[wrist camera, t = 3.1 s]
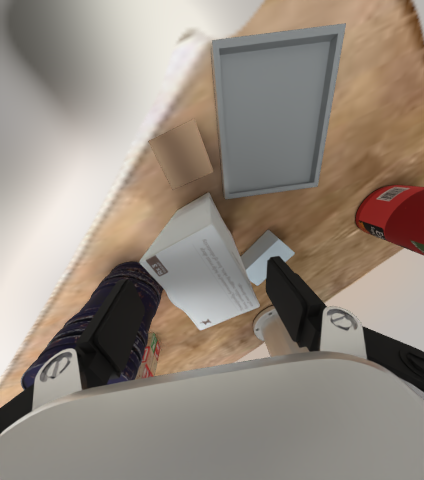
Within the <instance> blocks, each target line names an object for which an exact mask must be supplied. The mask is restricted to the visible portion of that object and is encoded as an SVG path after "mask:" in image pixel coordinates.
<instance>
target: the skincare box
mask: <svg viewBox="0 0 424 480" xmlns="http://www.w3.org/2000/svg"><path fill="white" fill-rule="evenodd" d="M139 263H140V264H141V265H142V266H143V267H144V268H145V269H146V270H147V271H148V273H149V274H150V275H151V276H152V277H153V278H154V279H155V280H156V281H157V282H158V283H159V284H160V285H161V286H162V287H163V289H164V290H165V291H166V293H167V295H168V297H169V299H170V300H171V302H172V303H173V304H174V305H175V306H176V307H178V308H180V309H182V310H183V311H184V312H185V313H186V314H187V315H188V316H189V318H190V319H191V320H192V321H193V322H194V324H195V325H196V326H197V328H198V329H199V330H203V329H206V328H208V327H211V326H213V325H216V324H218V323H221V322H223V321H225V320H228V319H230V318H232V317H235V316H237V315H240V314H243V313H246V312H248V311H251V310H253V309H256V308H258V307H259V306H260V304H259V302H258V300H257V298H256V295H255V293H254V291H253V288H252V286H251V283H250V281H249V278H248V275H247V273H246V270H245V268H244V265H243V263H242V260H241V258H240V255H239V252H238V250H237V248H236V245H235V242H234V240H233V237H232V235H231V233H230V231H229V230H228V228H227V226H226V225H225V223H224V221H223V219H222V217H221V216H220V214H219V212H218V210H217V208H216V206H215V204H214V202H213V200H212V197H211V195H210V193H209V192H208V193H206V194H204V195H203V196H201V197H199V198H197V199H196V200H194V201H192V202H191V203H189V204H187V205H185V206H184V207H182V208H180V209H179V210H177V211H176V213H175V214H174V215H173V217H172V218H171V219H170V221H169V222H168V223H167V225H166V226H165V227H164V229H163V230H162V231H161V233H160V234H159V235H158V237H157V238H156V239H155V241H154V242H153V244H152V245H151V246H150V248H149V249H148V250H147V252H146V253H145V254H144V255H143V257H142V258H141V259H140V262H139Z"/></svg>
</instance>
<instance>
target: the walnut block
mask: <svg viewBox="0 0 424 480" xmlns="http://www.w3.org/2000/svg"><path fill="white" fill-rule="evenodd" d="M148 142H149V144H150V146H151V148H152V150H153V152H154V154H155V156H156V158H157V160H158V162H159V164H160V166H161V168H162V170H163V172H164V174H165V176H166V178H167V180H168V182H169V184H170V186H171V188H172V190H174V189H176V188H179V187H181V186H183V185H185V184H188V183H190V182H192V181H194V180H197V179H199V178H201V177H203V176H206V175H208V174H210V173H212V172H214V171H213V168H212V166H211V163H210V160H209V157H208V154H207V152H206V149H205V146H204V143H203V141H202V138H201V135H200V132H199V129H198V127H197V124H196V121H195V119H193V120H191V121H188V122H186V123H184V124H182V125H180V126H178V127H176V128H174V129H172V130H170V131H168V132H166V133H164V134H162V135H160V136H158V137H156V138H154V139H151V140H149V141H148Z"/></svg>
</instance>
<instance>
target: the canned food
mask: <svg viewBox="0 0 424 480" xmlns="http://www.w3.org/2000/svg"><path fill="white" fill-rule="evenodd" d="M356 224H357V226H358V227H359V228H360V229H361V230H362V231H364V232H366V233H368V234H371V235H373V236H376V237H379V238H381V239H384V240H386V241H389V242H391V243H394V244H396V245H399V246H401V247H404V248H406V249H409V250H411V251H414V252H417V253H419V254H422V255H424V187H416V186H404V185H392V186H386V187H383V188H380V189H378V190H376V191H375V192H373V193H372V194H370V195H369V196H368V197H367V198H366V199H365V200H364V201H363V203H362V204H361V205H360V207H359V209H358V211H357V214H356Z"/></svg>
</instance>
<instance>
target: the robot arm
mask: <svg viewBox="0 0 424 480" xmlns="http://www.w3.org/2000/svg"><path fill="white" fill-rule="evenodd" d="M266 292H267V294H268V296H269V298H270V300H271V302H272V304H273V306H271V307H269V308H267V309H265V310H263V311H262V312H261V313H260V314H259V315H258V316H257V317H256V319H255V320H254V323H253V330H254V333H255V335H256V336H257V338H259V339H260V340H262V341H265V343H266V346H267V349H268V351H269V354H270V357H268V358H261V359H255V360H249V361H243V362H237V363H231V364H225V365H219V366H213V367H207V368H201V369H195V370H189V371H183V372H177V373H171V374H165V375H160V376H154V377H148V378H142V379H137V380H131V381H125V382H120V383H114V384H109V385H107V383H108V380H111V379H117V378H119V377H120V375H121V372H122V371H123V370H124V369H125V367H126V364H127V361H128V359H129V356H130V353H131V350H132V347H133V344H134V342H135V339H136V336H137V333H138V330H139V327H140V324H141V322H142V319H143V316H144V313H145V307H144V305H143V303H142V301H141V299H140V297H139V295H138V293H137V290H136V288H135V286H134V284H133V282H132V281H130V280H129V279H124V280H119V281H117V283H116V284H115V286H114V287H113V289H112V290H111V292H110V293H109V295H108V296H107V298H106V299H105V300H104V302H103V303H102V305H101V306H100V308H99V309H98V311H97V312H96V314H95V315H94V317H93V318H92V320H91V321H90V323H89V324H88V326H87V327H86V329H85V330H84V331H83V333H82V334H81V336H80V337H79V339H78V340H77V342H76V343H75V344H76V347H75V348H74V349H72V348H71V349H66V350H63V351H61V352H59V353H57V354H56V355H54V356H53V357H52V358H50V359H49V360H48V361H47V362H46V363H45V364H44V365H43V366H42V368H41V369H40V370H39V372H38V373H37V375H36V378H35V383H34V384H32V385H31V386H30V387H28V388H27V389H25V390H24V391H23V392H21V393H20V394H19V395H17V396H16V397H15V398H13V399H12V400H11V401H9V402H8V403H7V404H5V405H4V406H2V407H1V408H0V480H424V352H423V351H421V350H419V349H416V348H414V347H412V346H409V345H407V344H404V343H402V342H400V341H397V340H394V339H392V338H390V337H387V336H385V335H382V334H380V333H378V332H375V331H373V330H370V329H368V328H365V327H363V326H362V324H361V322H360V321H359V319H358V318H357V317H356V316H355V315H353V314H352V313H351V312H349V311H348V310H345V309H343V308H340V307H336V306H330V307H327V306H326V305H325V304H324V303H323V302H322V301H321V300H320V298H319V297H318V296H317V295H316V294H315V293H314V292H313V291H312V290H311V289H310V287H309V286H308V285H307V284H306V283H305V282H304V281H303V280H302V279H301V278H300V276H299V275H298V274H296V273H294V272H293V271H292V270H291V269H290V267H289V266H288V265H287V264H286V263H285V262H284V261H283V260H282V258H281V257H280V256H275V257H270V259H269V260H267V275H266Z"/></svg>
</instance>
